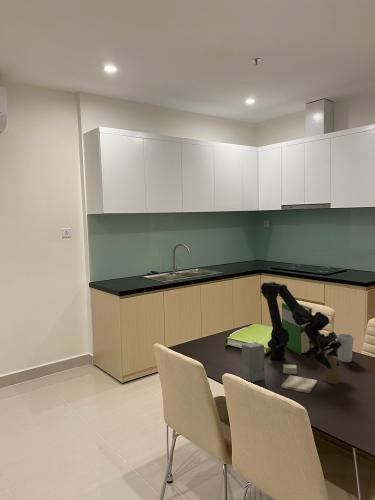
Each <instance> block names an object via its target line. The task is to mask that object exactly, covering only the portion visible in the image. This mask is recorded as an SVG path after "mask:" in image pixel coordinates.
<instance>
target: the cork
mask: <svg viewBox="0 0 375 500" xmlns="http://www.w3.org/2000/svg"><path fill="white" fill-rule="evenodd" d="M325 357H326V359H327V361H328V362H329V364H330V366H331V368H330V369H329V368H327V367H326V366H325V373H324V374H325V376H324V382H326V383H328V384H339V382H340V378H339V370H338V366H337V363H338V362H339V360H338V356H337V357H336V356H332V355H329V356H327V355H326V356H325Z"/></svg>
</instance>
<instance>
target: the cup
mask: <svg viewBox="0 0 375 500" xmlns="http://www.w3.org/2000/svg"><path fill="white" fill-rule="evenodd" d="M336 336H337V339H336V341H340V343H341V344H342V346H341V347H339V348H338V349H337V358H338V361H340V362H343V363H350V362H352V360H353V358H352V357H353V349H354V348H353V347H354V338H355V337H354V335H352V334H347V333H339V334H338V333H337V334H336Z"/></svg>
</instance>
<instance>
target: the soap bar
mask: <svg viewBox="0 0 375 500" xmlns="http://www.w3.org/2000/svg"><path fill="white" fill-rule="evenodd" d="M282 373H283V374H288V375H297V365H296V364H282Z"/></svg>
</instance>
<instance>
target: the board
mask: <svg viewBox="0 0 375 500" xmlns="http://www.w3.org/2000/svg"><path fill="white" fill-rule="evenodd" d="M317 383H318V380H316V379H312V378H307V377H301V376H297V375H293V374H289V375H288V377H287V378H286V379H285V380H284V381H283V382H282V384H281V387H280V388H283V389H288V390H292V391H295V392H296V391H297V392H301V393H306V394H311V392H312V391H313V390H314V388H315V386H316V385H317Z"/></svg>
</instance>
